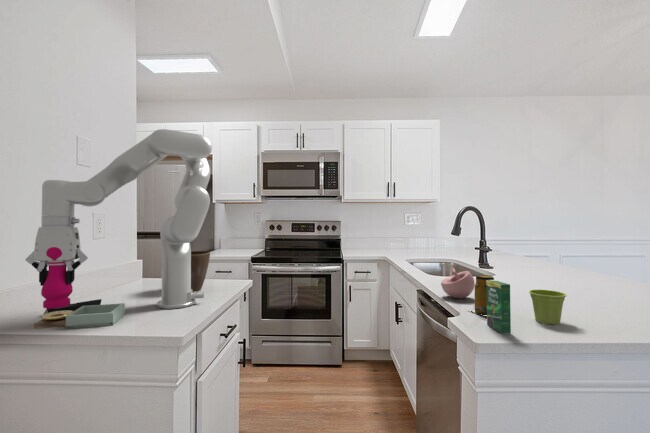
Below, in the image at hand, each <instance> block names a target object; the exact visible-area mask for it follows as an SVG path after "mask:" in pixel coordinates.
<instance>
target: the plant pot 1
mask: <svg viewBox="0 0 650 433" xmlns="http://www.w3.org/2000/svg"><path fill="white" fill-rule="evenodd" d="M210 256H211V252H210V251H207V250H191V289H192V292H194V291H197V292H200V291H202V287H203V285H204V282H205V280H206V276H207V272H208V268H209V265H210V264H209V263H210V258H211V257H210ZM199 290H200V291H199Z"/></svg>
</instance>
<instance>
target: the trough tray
mask: <svg viewBox="0 0 650 433" xmlns="http://www.w3.org/2000/svg"><path fill="white" fill-rule="evenodd" d="M125 313H126V309H125V302H123V303H109V304H108V303H107V304H100V305H89V306H82V307H80V308H79V309H77V310H75V311H73V312H72V313H70V314H69V315H67V316H66V326H65V330H69V329H70V330H71V329H82V328H95V327H108V326H109V327H110V326H114V325H115V324H116V323H117V322H118V321H119V320H120V319H121V318H122V317H123V316H124V315H125Z"/></svg>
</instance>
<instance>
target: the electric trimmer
mask: <svg viewBox="0 0 650 433" xmlns="http://www.w3.org/2000/svg"><path fill="white" fill-rule="evenodd" d="M101 303H102V299H101V298H100V299H99V298H98V299H93V300H92V299H91V300H87V301H79V302H74V303H70V305H68V306H65V307H60V308H51V309H48V308H45V311H44V313H43V315H44V314H46V313H50V312H55V311H64V310H70V311H73V312H74V311H75V310H77V309H79V308H80V307H82V306H89V305H102V304H101Z"/></svg>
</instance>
